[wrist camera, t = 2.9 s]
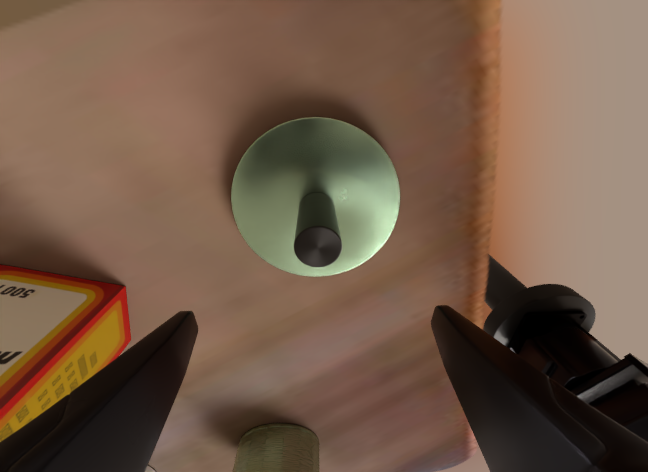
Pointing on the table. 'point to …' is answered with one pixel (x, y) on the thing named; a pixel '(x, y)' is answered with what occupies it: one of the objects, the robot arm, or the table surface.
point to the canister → (278, 449)
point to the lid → (315, 196)
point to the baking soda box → (53, 338)
